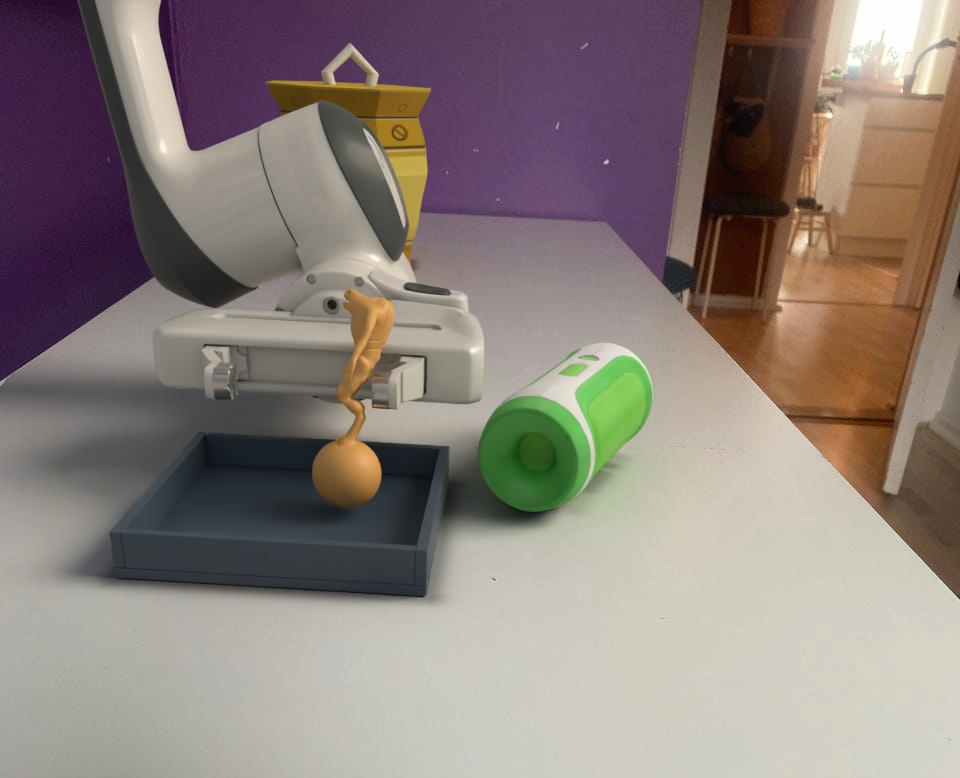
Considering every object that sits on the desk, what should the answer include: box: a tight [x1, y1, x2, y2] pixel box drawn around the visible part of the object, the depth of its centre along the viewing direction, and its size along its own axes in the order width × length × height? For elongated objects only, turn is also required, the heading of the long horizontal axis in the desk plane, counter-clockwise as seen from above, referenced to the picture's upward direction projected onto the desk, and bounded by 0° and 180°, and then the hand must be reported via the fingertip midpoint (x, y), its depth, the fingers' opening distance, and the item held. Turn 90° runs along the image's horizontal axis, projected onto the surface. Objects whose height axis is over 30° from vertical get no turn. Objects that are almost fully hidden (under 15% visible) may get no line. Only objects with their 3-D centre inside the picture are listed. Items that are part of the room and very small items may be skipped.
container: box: [264, 42, 432, 265], centre depth 130 cm, size 21×21×25 cm
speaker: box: [477, 342, 654, 513], centre depth 68 cm, size 18×7×8 cm, turn 157°
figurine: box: [312, 289, 395, 508], centre depth 59 cm, size 8×6×12 cm
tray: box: [108, 431, 451, 597], centre depth 60 cm, size 16×16×3 cm
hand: (300, 390), depth 58 cm, fingers open, 8 cm apart
